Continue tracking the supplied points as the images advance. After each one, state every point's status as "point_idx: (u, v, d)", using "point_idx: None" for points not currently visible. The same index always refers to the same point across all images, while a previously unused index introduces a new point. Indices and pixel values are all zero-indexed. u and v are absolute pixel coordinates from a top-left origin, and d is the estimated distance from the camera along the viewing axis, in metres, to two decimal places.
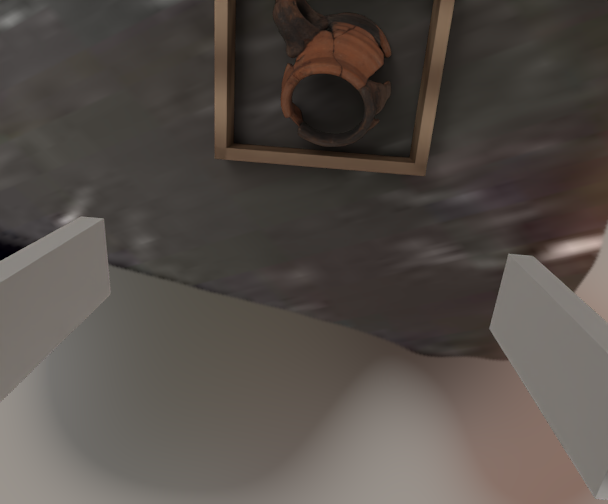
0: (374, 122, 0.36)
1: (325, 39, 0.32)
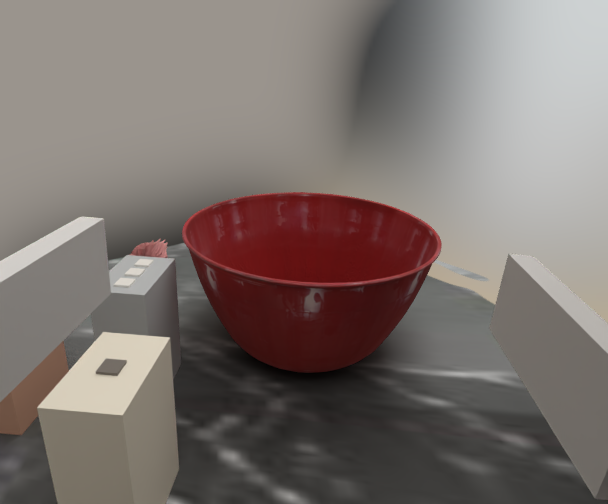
0: None
1: None
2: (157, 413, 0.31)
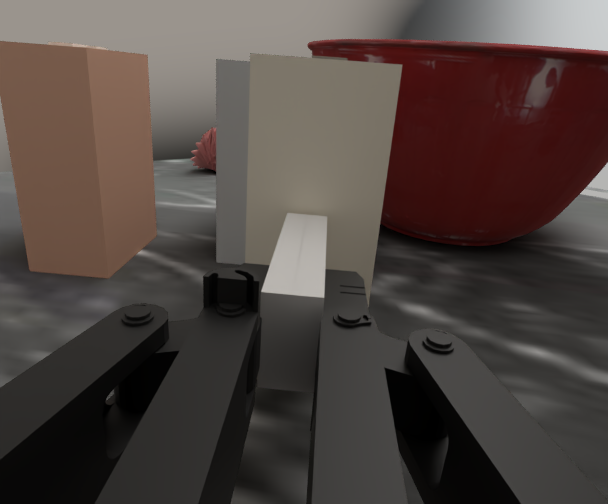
0: None
1: None
2: None
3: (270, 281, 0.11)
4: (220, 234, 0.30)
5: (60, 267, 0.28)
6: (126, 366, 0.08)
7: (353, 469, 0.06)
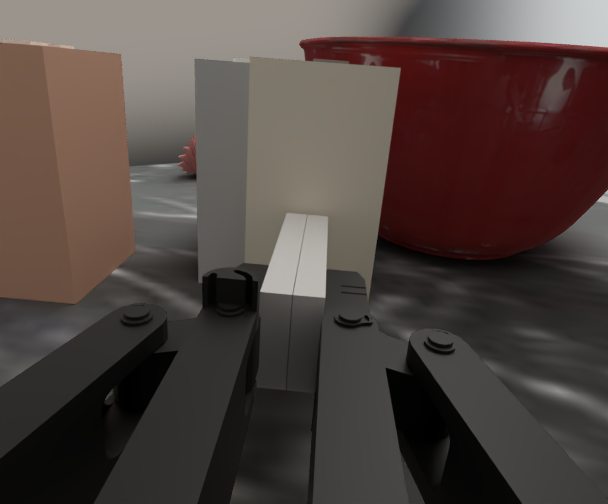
0: None
1: None
2: None
3: (269, 281, 0.11)
4: (202, 252, 0.28)
5: (21, 291, 0.25)
6: (125, 366, 0.08)
7: (354, 469, 0.06)
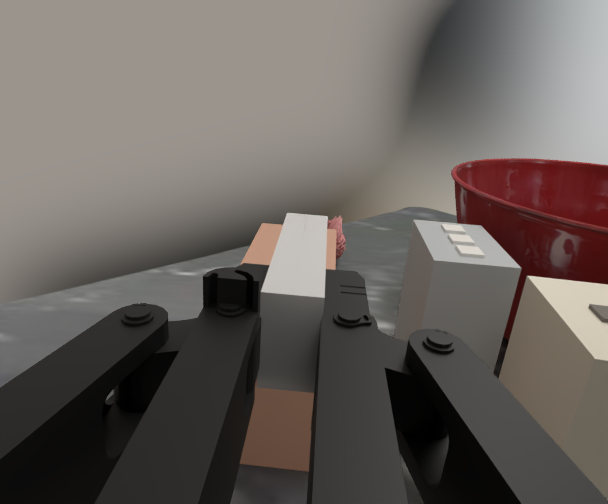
0: None
1: None
2: None
3: (270, 281, 0.11)
4: None
5: (267, 460, 0.27)
6: (126, 366, 0.08)
7: (353, 469, 0.06)
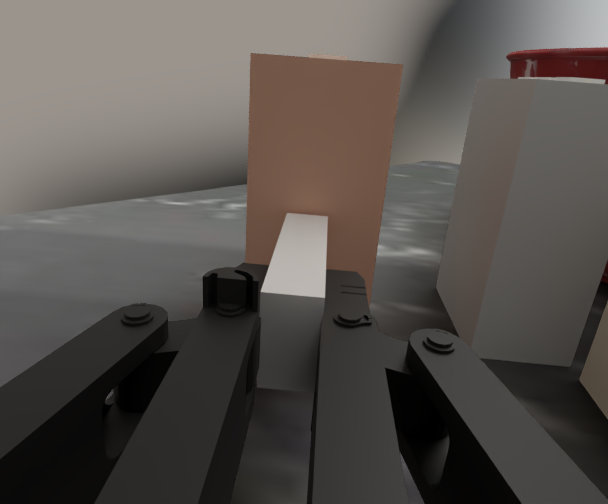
0: None
1: None
2: None
3: (270, 281, 0.11)
4: (483, 321, 0.22)
5: None
6: (126, 366, 0.08)
7: (353, 470, 0.06)
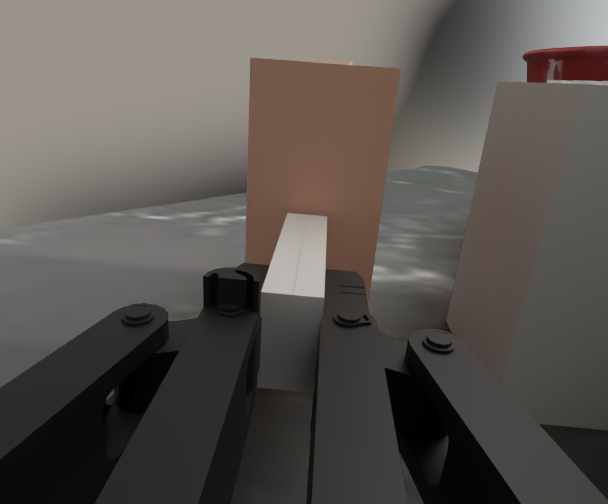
0: None
1: None
2: None
3: (270, 281, 0.11)
4: (510, 377, 0.18)
5: None
6: (126, 366, 0.08)
7: (353, 469, 0.06)
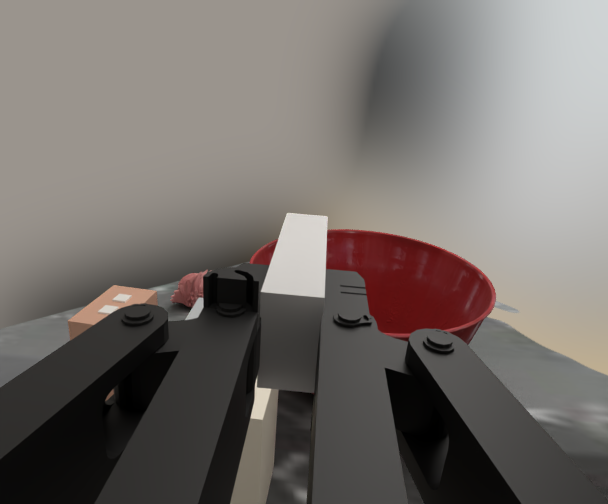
0: None
1: None
2: (271, 419, 0.38)
3: (270, 281, 0.11)
4: None
5: None
6: (126, 366, 0.08)
7: (353, 469, 0.06)
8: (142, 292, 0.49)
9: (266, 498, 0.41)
